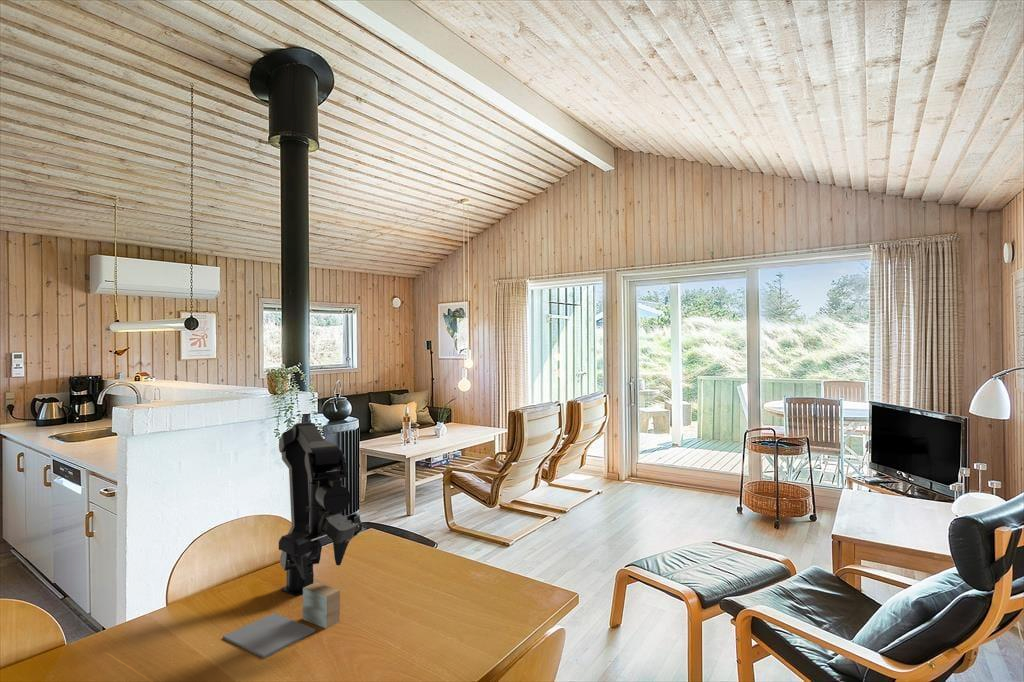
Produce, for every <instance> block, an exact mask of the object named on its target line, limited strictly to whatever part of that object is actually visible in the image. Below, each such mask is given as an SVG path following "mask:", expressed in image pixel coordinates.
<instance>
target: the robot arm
mask: <svg viewBox="0 0 1024 682" xmlns="http://www.w3.org/2000/svg"><path fill="white" fill-rule="evenodd" d="M278 451H279V453H281V460H282V462H283V463H284V464H285V465H286V467H287V468H288V475H289V476H288V477H289V478H288V479H289V480H288V481H289V497H290V498H289V499H290V500H289V501H290V519H291V520H290V521H291V526H290V529H289V531H288V533H287V534H285V535H282V536H281V537H280V538H279V540H278V550H279V551H281V552H280V556H279V558H280V566H281V568H282V569H283V570H284V571H286V585H284V586H283V587H281V588H280V591H282V592H284V593H287V594H290V595H291V596H295V597H298V596H301V595H303V588H304V587H306V586H308V585H311V584H313V583H314V582H315V581H314V576H315V575H314V574H315V573H314V565H319V564H320V561H321V556H322V549H323V544H322V543H321V540H320V539H324V538H327V537H328V538H330V539H331V540H332V546H333V554H334V555H333V556H334V561H335V565H336V566H341V564H342V562H343V559H344V556H345V554H346V550H347V548H348V545H349V543H350V542H351V541H352V539H353V538H355V537H356V536H358V533H359V532H362V531H363V522H362V521H361V516H360V514H358V512H355V513H351V514H349V515H348V514H346V515H343V514H342V513H343V511H345V510H346V509H347V508H348V506H350V503H351V499H352V498H351V497H352V496H351V493H350V491H349V490H348V488H347V487H345V486H344V485H343V483H342V479H345V478H348V470H349V468H348V464H347V461H346V458H345V454H344V453H343V451H342V449H340V447H339V445H338V444H336V443H334V442H329V441H326V440H325V439H324V437H323V436H322V435H321V434H320V432H319V431H318V430H317V426H316V424H315V422H312V421H308V422H296V423H294V424H293V425H292V427H290V428H289V429H288V430H285V431H284V432H282V433H281V435H280V437H279V441H278ZM309 483H310V484H309Z"/></svg>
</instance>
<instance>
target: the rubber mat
mask: <svg viewBox="0 0 1024 682" xmlns="http://www.w3.org/2000/svg"><path fill="white" fill-rule="evenodd" d="M315 632H316V628H313V627H310V626H308V625H306V624H303V623H301V622H298V621H296V620H294V619H291V618H288V617H286V616H284V615H281V614H279V613H276V612H273V613H271V614H268V615H265V616H264V617H261V618H260V619H258V620H255V621H253V622H250V623H249V624H246V625H244V626H242V627H239V628H237V629H235V630H233V631H231V632H228V633H226V634H224V635H222V639H224V640H225V641H227V642H229V643H232V644H233V645H236V646H238V647H239V648H242V649H244V650H246V651H248V652H250V653H252V654H254V655H256V656H258V657H260V658H262V659H266V658H268V657H270V656H272V655H274V654H275V653H277V652H279V651H281V650H283V649H285V648H286V647H289V646H290V645H292V644H294V643H296V642H298V641H300V640H302V639H304V638H306V637H308V636H309V635H312V634H314V633H315Z"/></svg>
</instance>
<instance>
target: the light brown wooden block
mask: <svg viewBox="0 0 1024 682" xmlns="http://www.w3.org/2000/svg"><path fill="white" fill-rule="evenodd" d="M340 611H341V590H340V589H337V588H334V587H331V586H329V585H326V584H323V583H320V582H315V581H314V582H313V584H311V585H308V586H306V587H304V588H303V594H302V617H301V619H302V620H304V621H306V622H308V623H312V624H314V625H316V626H319V627H321V628H324V629H329V628H331V627H333V626H334V625H336V624H338V623H340V620H341V619H340V616H341V612H340Z"/></svg>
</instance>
